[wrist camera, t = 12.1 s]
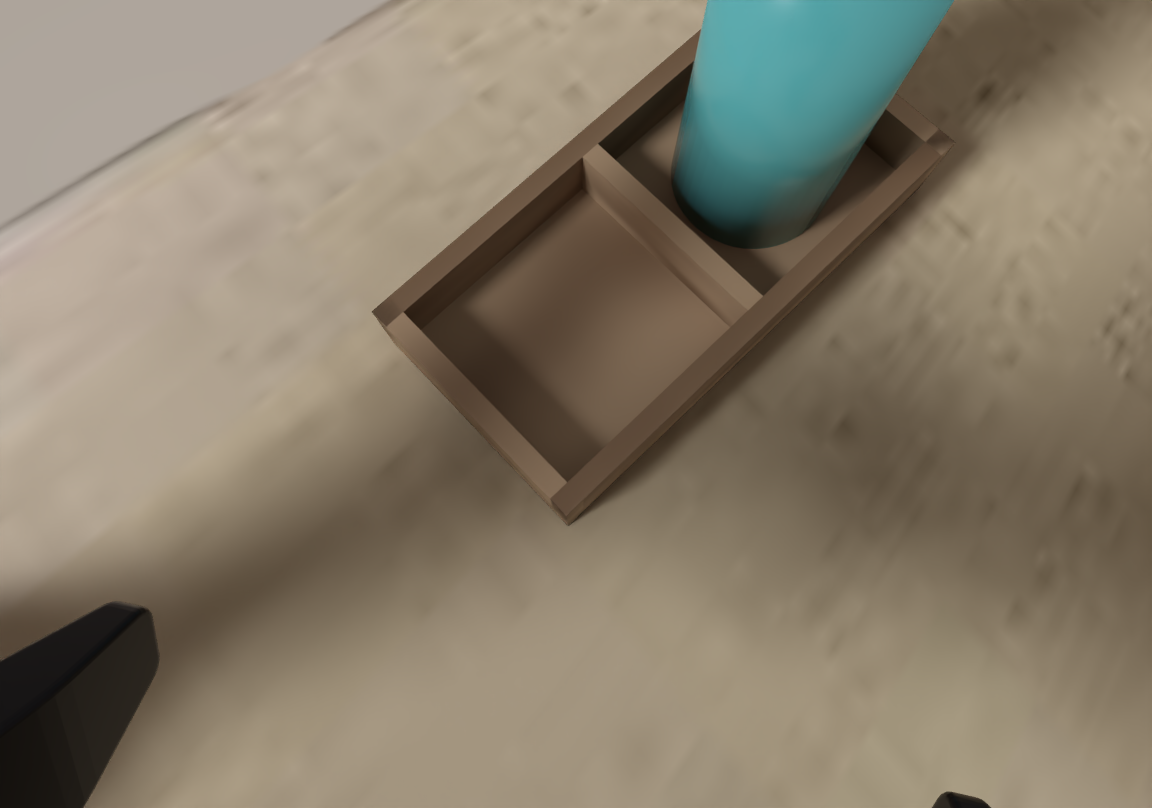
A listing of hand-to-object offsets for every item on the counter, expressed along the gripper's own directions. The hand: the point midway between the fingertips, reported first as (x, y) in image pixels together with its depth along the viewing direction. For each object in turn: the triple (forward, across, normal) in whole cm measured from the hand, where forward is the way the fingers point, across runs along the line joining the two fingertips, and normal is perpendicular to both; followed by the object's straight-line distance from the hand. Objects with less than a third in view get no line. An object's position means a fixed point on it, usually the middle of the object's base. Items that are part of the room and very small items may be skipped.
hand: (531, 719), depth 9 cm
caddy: (+18, -1, +1) cm, 18 cm away
